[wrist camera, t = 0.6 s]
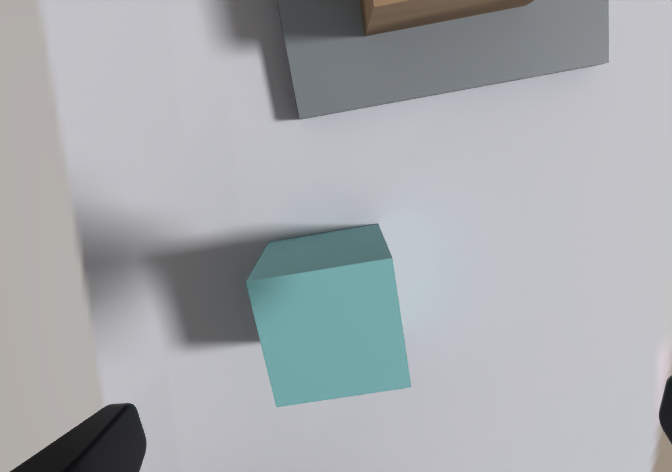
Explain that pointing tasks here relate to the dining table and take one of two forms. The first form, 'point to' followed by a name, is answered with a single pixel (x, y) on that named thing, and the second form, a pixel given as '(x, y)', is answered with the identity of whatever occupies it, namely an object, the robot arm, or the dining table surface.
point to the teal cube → (329, 316)
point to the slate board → (432, 51)
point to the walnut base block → (424, 12)
